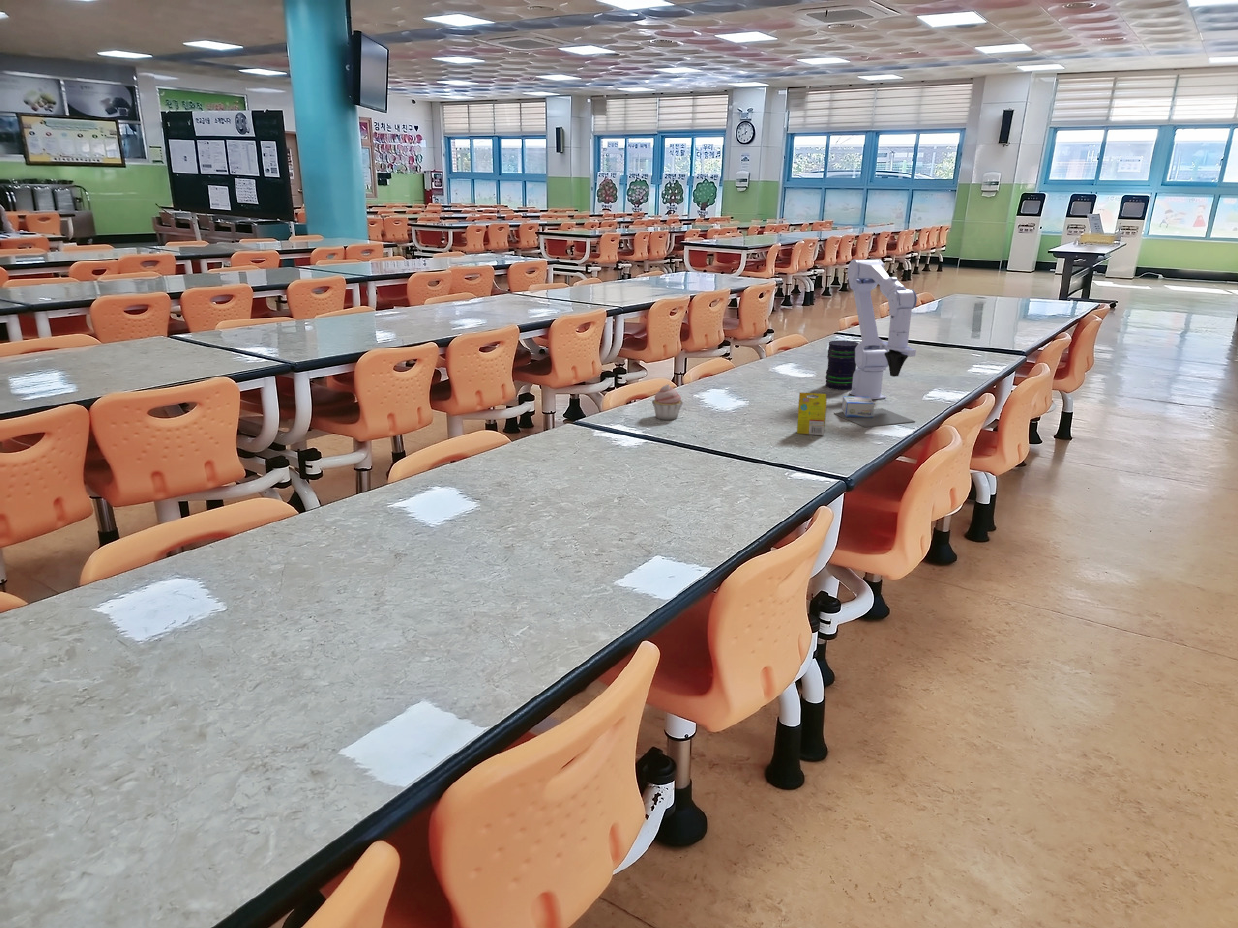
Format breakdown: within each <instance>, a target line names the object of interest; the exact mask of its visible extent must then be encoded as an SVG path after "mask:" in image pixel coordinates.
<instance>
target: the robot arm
mask: <svg viewBox="0 0 1238 928" xmlns="http://www.w3.org/2000/svg"><path fill="white" fill-rule="evenodd" d="M847 279H848V284H849V288H850V289H851V290H852V291H853V296H854V302H855V308H856V314H857V319H858V327H859V331H860V336H861V340H860V342H858V343H859V344H858V345H857V346H856V348H855V363H856V370H855V372H854V374H853V382H852V390H851V391H849V395H852V396H859V397H870V399H871V400H879V399H887V396H886V395H883V394H882V388H883V377H884V371H886V370H887V368H888V370H889V376H890V377H893V378H895V377H899V376H900V373H901V371H902V367H903V365H904V363H905V362H906V360H907V359H908V358H909V357H910V358H911V357H916V353H917V350H916V349H914V348H912V347H911V346H909V336H910V326H911V318H912V310H914V309H915V308H916V306H917V303H918V295H917V293H916V291H915V289H912V288H911V289H908V288H906V287H905V285H903V284H902V283H901V282H900V281H899V280H898V278H897V277H896V276H889V274H888V273H887V271H886V270H885V263H884V262H883V260H881V259H880V258H877V259H852V260H851V261H850V262H849V264H848V268H847ZM878 285H879V290H880V292H881V294H882V295H883V296H884V297H885V298H886V299H887V300H888V301H887V304H888V308H889V309H888V315H890V317H889V318H890V319H889V328H888V339H887V341H884V340H883V339H881V338H880V337H879V332H878V328H877V327H878V326H877V322H876V316H875V311H874V305H873V300H872V294H871V291H873V290H874V289H876V288H877V286H878Z"/></svg>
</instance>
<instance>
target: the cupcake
mask: <svg viewBox="0 0 1238 928" xmlns="http://www.w3.org/2000/svg"><path fill="white" fill-rule="evenodd" d="M651 404H652V406H653V409H654V413H655V414H654V415H655V417H656V418H657V419H658V420H662V421H672V420H675V419H678V417H679V413H680V410H681V407H682V405H683V404H684V401H683V400H682V397H681V394H679V393H678V391H677V390H676V389H674V388H673V387H671V386H670V383H667V384H666V385H663V386H662V387H661V388H660V389H659V391H657V392H656V393H655V395H654V399H653V400H651Z"/></svg>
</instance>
